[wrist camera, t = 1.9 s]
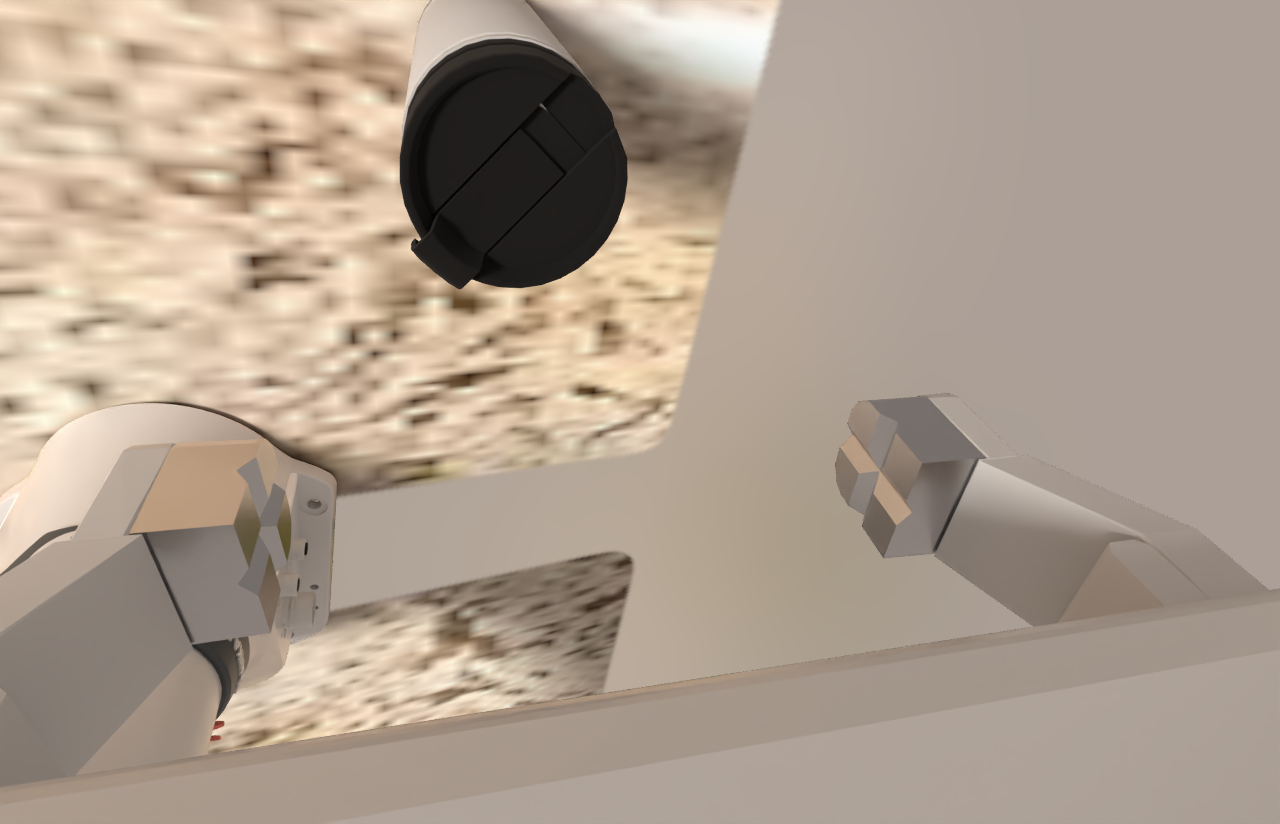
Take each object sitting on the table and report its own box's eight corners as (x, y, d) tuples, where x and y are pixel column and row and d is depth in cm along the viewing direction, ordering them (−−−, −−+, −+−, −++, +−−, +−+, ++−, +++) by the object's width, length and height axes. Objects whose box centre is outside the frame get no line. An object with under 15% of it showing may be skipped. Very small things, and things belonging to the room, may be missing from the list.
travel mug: (382, 52, 33) (333, 195, 18) (479, -56, 32) (520, -5, 16) (481, 151, 37) (514, 342, 21) (573, 58, 35) (681, 190, 20)
